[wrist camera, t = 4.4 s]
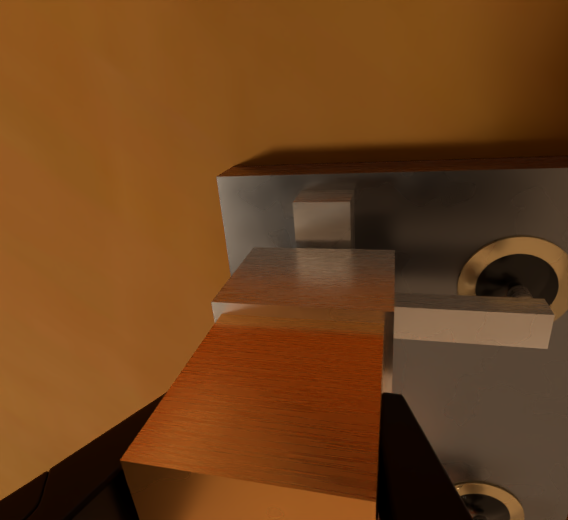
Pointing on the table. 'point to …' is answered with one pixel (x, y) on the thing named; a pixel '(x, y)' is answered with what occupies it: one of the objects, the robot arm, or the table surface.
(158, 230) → the table surface
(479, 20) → the table surface
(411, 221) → the bolt plate
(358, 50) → the table surface
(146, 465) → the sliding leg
